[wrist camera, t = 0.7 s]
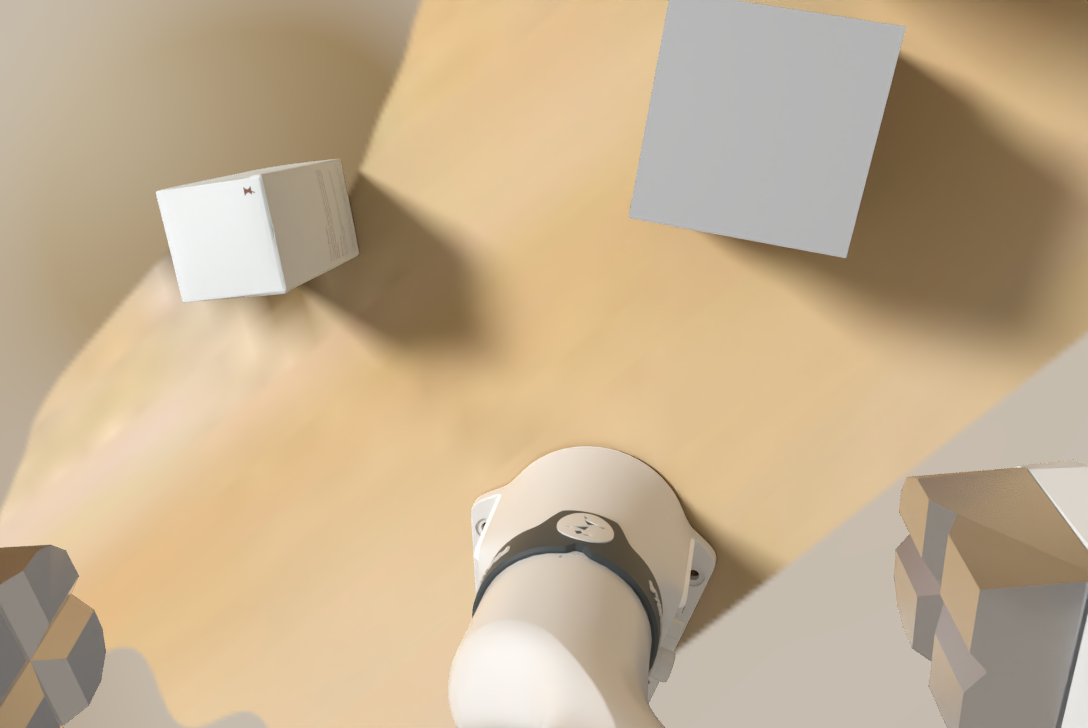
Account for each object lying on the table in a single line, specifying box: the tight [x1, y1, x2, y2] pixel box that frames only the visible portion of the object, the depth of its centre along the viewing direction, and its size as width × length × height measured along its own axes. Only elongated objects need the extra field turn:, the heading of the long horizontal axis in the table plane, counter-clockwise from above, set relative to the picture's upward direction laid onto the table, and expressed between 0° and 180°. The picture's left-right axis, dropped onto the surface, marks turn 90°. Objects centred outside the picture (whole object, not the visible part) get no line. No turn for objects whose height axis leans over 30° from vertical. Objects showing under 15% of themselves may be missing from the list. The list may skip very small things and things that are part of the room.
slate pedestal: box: [629, 0, 906, 258], centre depth 55 cm, size 12×12×17 cm
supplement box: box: [156, 159, 359, 303], centre depth 64 cm, size 7×7×13 cm
